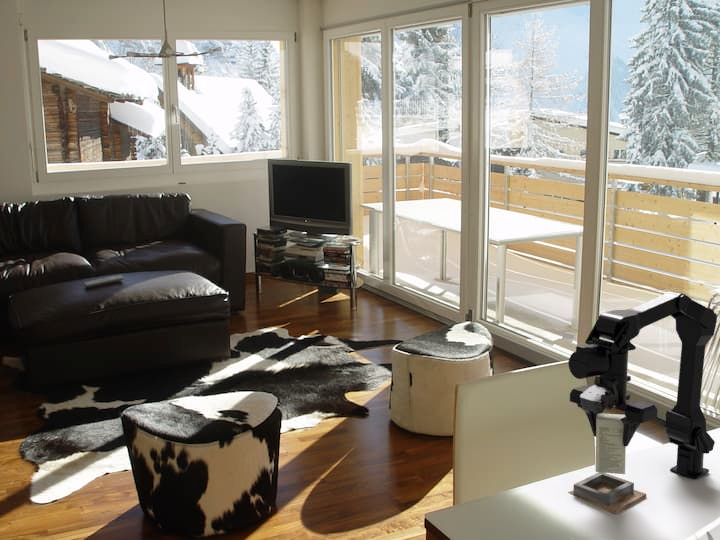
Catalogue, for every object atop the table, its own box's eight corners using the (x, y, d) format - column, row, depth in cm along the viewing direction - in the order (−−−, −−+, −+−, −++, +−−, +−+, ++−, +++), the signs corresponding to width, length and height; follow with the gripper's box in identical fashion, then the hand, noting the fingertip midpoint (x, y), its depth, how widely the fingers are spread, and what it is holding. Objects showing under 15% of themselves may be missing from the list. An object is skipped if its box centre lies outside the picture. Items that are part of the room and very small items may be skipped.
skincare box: (624, 467, 180) (627, 414, 178) (625, 475, 175) (628, 421, 173) (594, 464, 181) (596, 411, 179) (594, 472, 177) (596, 418, 175)
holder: (598, 480, 188) (598, 468, 188) (646, 497, 179) (646, 484, 179) (567, 495, 181) (567, 483, 180) (615, 514, 172) (616, 500, 171)
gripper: (554, 368, 177) (552, 437, 180) (627, 389, 163) (624, 463, 165) (586, 360, 184) (584, 426, 186) (660, 378, 169) (657, 450, 172)
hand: (610, 441), depth 177 cm, fingers closed on skincare box, 7 cm apart
